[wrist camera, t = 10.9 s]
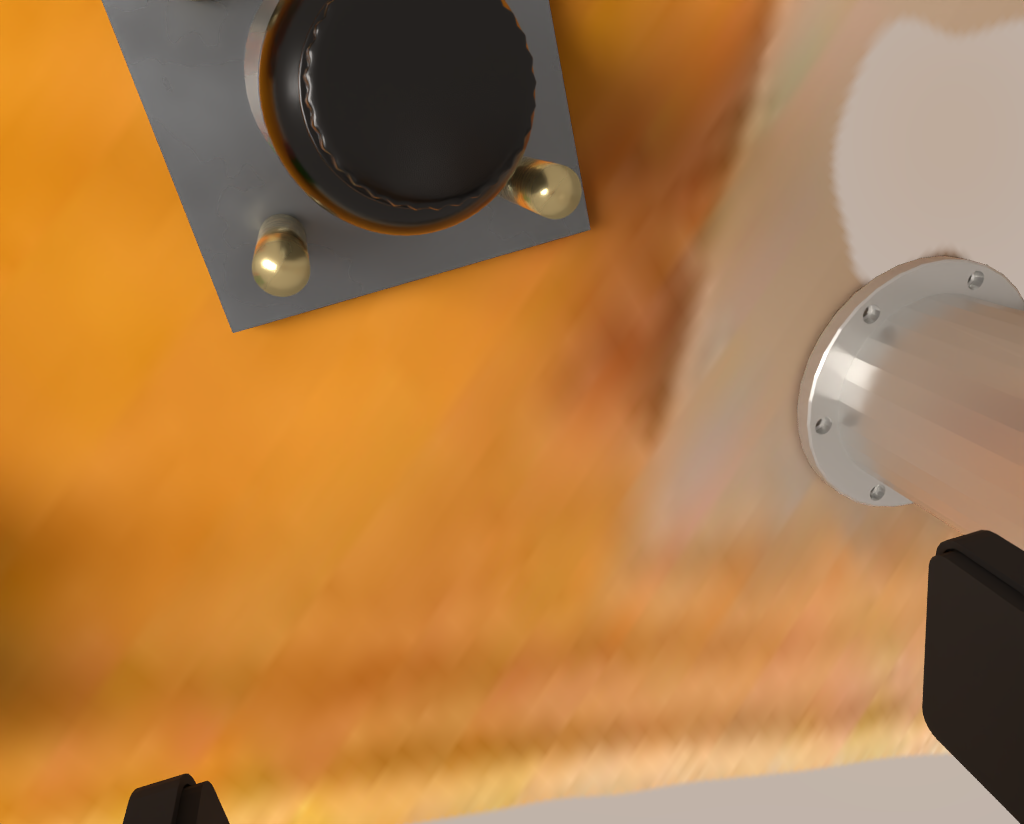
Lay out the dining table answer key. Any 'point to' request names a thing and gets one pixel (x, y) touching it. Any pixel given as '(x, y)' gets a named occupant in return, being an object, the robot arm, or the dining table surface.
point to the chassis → (275, 195)
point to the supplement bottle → (397, 106)
